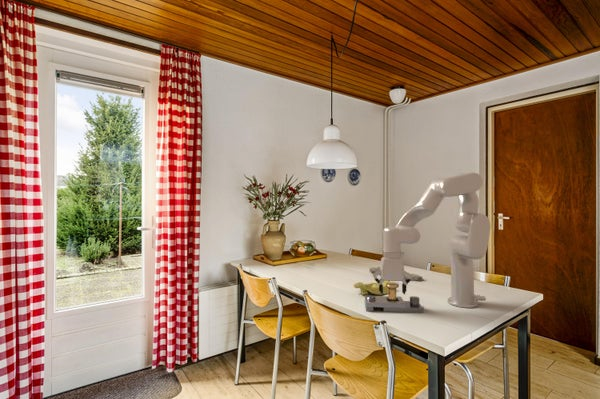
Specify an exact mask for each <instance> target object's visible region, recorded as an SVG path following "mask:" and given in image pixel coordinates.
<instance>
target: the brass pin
mask: <svg viewBox="0 0 600 399" xmlns="http://www.w3.org/2000/svg"><path fill="white" fill-rule="evenodd" d="M399 284H400V283H398V282H395V281H389V282H388V283H386V287H388V294H387V296H388V301H396V297H397V288H399V286H400V285H399Z"/></svg>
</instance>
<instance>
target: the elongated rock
mask: <svg viewBox="0 0 600 399" xmlns="http://www.w3.org/2000/svg"><path fill="white" fill-rule="evenodd" d="M380 268H381V266H377V267H369V270H368V271H370V273H372V274H374V273H376V272H378V271H380ZM411 274H412V275H413V277H412V279H411V281H413V282H422V281H423V276H421V275H419V274H415V273H411ZM407 278H408V276H407V275H405V279H404V280H406V279H407Z"/></svg>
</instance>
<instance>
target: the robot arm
mask: <svg viewBox="0 0 600 399" xmlns="http://www.w3.org/2000/svg"><path fill="white" fill-rule="evenodd" d="M483 185H484V179H483V177H482V176H481V175H480V174H479V173H477V172H464V173H456V174H453V175H451V176H450V177H441V178H440V177H439V178H436V179H433V180H432V181H431V182H430V183H429V185H428V186H427V188H426V189H425V190H424V192H423V194H422V195H421V196H420V197H419V200H418V201H417V203H416V204H415V205H413V206H412V207H411V208H410V209H409V210H407V212H406V213H405V214H403V215H402V217H401V218H400V220H399V221H398V223H396V226H387V227H384V228H383V230H382V231H383V232H382V234H383V236H382V240H383V242H382V246H383V247H382V248H383V249H382V250H383V256H382V257H381V259H380V267H381V268H380V271H378V272H376V273H372V277H373V279H374V281H375V283H378V284H379V291H380V292H381V295H384V294H383V285H382V283H383V282H384V281H389V282H402V284H401V287H402V288H401V292H402V295H406V292H407V285H408V284H409V283H411V281H412V280H411V279H412V277H413V275H412V274H413V273H410V272H408V271H406V270H405V267H404V259H403V258H402V257H403V256H405V252H403V251H402V248H401V247H402V245H401V244H407V245H414V244H416V243H418V242H419V241H420V239H421V232H420V230H418V229H417V228H416V227H415V226H416V225H417V224H418V223H419V222H420V221H422V220H425V219H427V218H429V217H431V216H433V215H434V214H435V213H436V211H437V210H438V208H439V206H440V205H441V203H442V202H443V200H444V199H445V198H452V197H457V201H458V203H457V211H456V216H455V228H456V230H457V231H459V232H461V233H466V234H467V235H463V234H456V235H453V236H452V237H451V238H450V239H449V242H448V251H449V257H450V294H451V295H450V297H448V298H447V302H448V304H450V305H452V306H454V307H459V308H465V309H466V308H467V309H468V308H469V309H471V308H476V307H478V306H479V301H484V302H485V301H486V299H487V298H486V296H485V295H483V296H482V295H480V294H477V295H476V294H475V265H474V261H475V260H477V261H478V260H480V259H482V258H484V257H485V255H486V253H487V250H488V246H489V241H490V240H489V239H490V234H491V221H490V219H489V218H488V215H485V214H484V213H481V212H479V208H480V207H479V206H480V200H479V196H478V194H477V192H478V191H480V189H481V188H482V187H483ZM379 275H380V279H379V278H378V277H377V276H379ZM405 275H407V276H408V278H407V279H405Z"/></svg>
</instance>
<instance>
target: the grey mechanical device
mask: <svg viewBox="0 0 600 399" xmlns="http://www.w3.org/2000/svg"><path fill="white" fill-rule="evenodd" d="M364 308H365V311H366V312H372V313H373V312H374V310H376V308H382V311H383V313H384V312H385V313H410V312H412V313H413V314H414V313H415V314H416V313H418V314H423V313H424V308H423V306H422V304H421V303H420V297H419V296H413V295H412V296H409V300H404V299H403V297H402V296H396V301H388V295H383V296H382V295H381V296H380V295H364Z"/></svg>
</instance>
